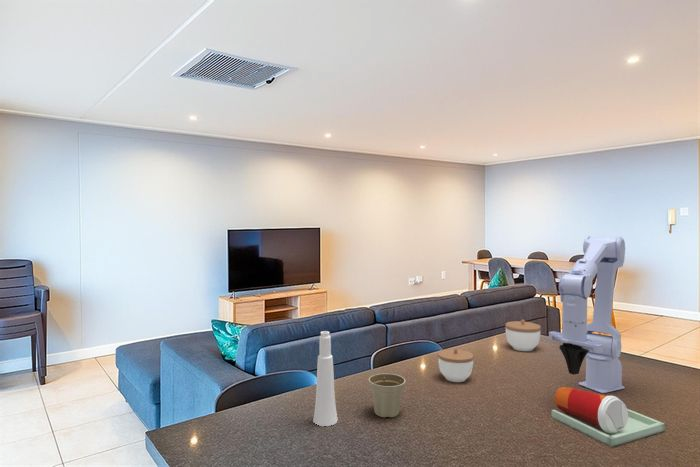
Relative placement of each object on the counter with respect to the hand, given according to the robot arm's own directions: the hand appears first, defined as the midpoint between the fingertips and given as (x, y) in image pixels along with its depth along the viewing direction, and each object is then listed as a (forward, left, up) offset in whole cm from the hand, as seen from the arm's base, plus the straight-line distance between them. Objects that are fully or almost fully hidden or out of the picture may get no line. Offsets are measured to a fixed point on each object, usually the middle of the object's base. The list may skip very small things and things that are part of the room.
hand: (573, 373), depth 116 cm
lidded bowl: (-29, -47, -10) cm, 56 cm away
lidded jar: (+14, -31, -10) cm, 35 cm away
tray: (0, +9, -9) cm, 13 cm away
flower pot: (+45, -18, -10) cm, 49 cm away
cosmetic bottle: (+61, -20, -10) cm, 65 cm away
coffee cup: (+3, 0, -6) cm, 7 cm away
